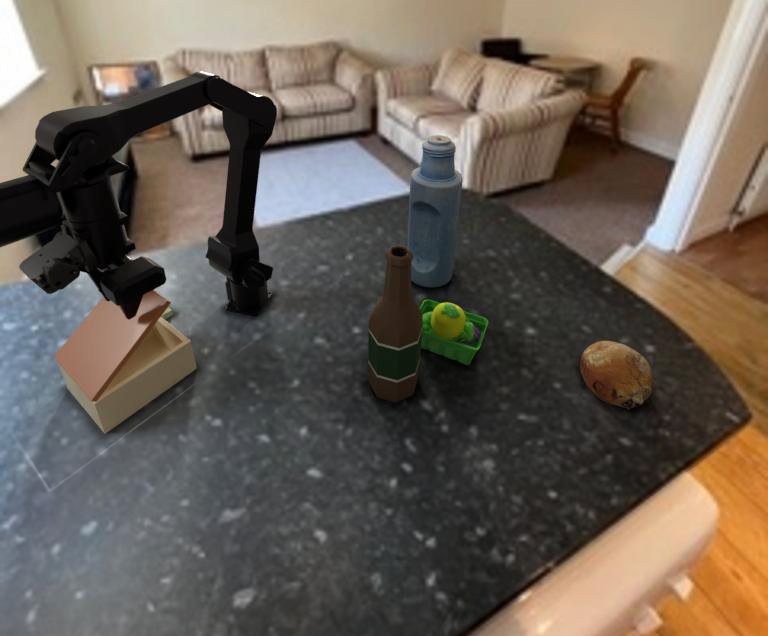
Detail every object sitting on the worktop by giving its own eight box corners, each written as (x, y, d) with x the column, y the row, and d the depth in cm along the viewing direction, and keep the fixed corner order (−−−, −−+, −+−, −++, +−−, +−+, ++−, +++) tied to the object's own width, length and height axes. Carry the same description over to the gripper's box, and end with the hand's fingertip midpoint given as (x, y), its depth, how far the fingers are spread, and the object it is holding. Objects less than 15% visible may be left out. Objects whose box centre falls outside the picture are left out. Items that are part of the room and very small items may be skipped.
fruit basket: (486, 341, 76) (494, 288, 72) (472, 380, 69) (481, 324, 64) (423, 320, 81) (427, 269, 76) (404, 354, 73) (407, 300, 68)
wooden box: (157, 334, 76) (150, 307, 73) (196, 368, 70) (191, 340, 67) (67, 388, 66) (56, 360, 63) (105, 434, 60) (94, 404, 57)
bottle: (459, 270, 94) (475, 136, 82) (439, 295, 87) (453, 152, 74) (419, 255, 99) (429, 126, 86) (396, 278, 91) (403, 140, 79)
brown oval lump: (639, 391, 72) (647, 343, 72) (658, 423, 62) (668, 367, 62) (573, 374, 75) (582, 327, 75) (582, 401, 65) (592, 347, 65)
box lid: (129, 270, 69) (125, 268, 68) (171, 302, 62) (167, 300, 62) (58, 358, 63) (53, 357, 63) (96, 402, 57) (90, 401, 57)
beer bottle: (366, 362, 72) (368, 235, 61) (414, 360, 72) (424, 234, 62) (369, 406, 64) (371, 270, 54) (422, 403, 65) (434, 268, 55)
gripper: (-12, 213, 55) (27, 311, 62) (50, 270, 45) (89, 380, 52) (86, 182, 63) (111, 272, 70) (156, 226, 54) (178, 325, 60)
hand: (120, 308), depth 63 cm, fingers open, 6 cm apart
